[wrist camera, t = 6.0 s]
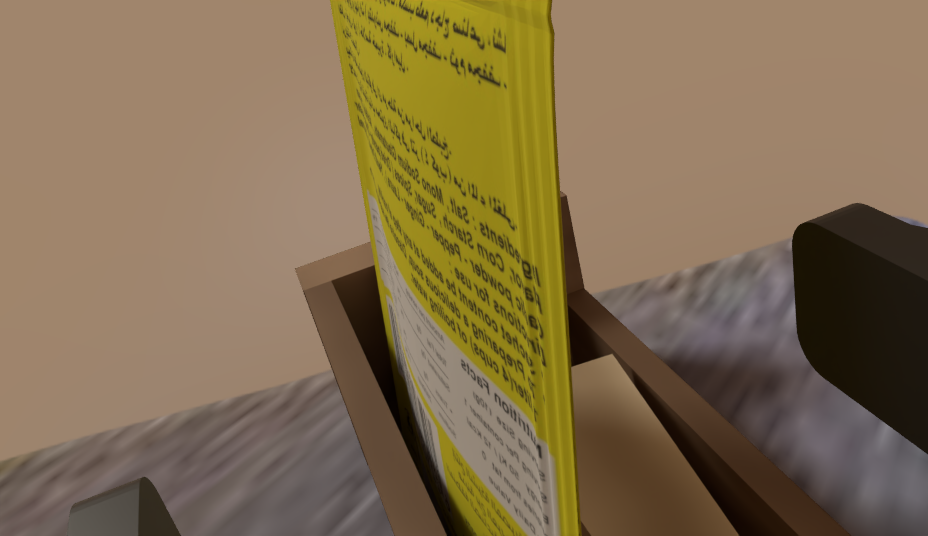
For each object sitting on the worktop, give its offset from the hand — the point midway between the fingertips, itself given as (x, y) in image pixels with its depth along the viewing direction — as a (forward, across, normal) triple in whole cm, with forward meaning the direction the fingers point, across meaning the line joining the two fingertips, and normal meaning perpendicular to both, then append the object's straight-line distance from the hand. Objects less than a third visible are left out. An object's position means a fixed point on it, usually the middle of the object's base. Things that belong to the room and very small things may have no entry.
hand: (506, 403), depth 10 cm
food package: (+9, +1, +15) cm, 17 cm away
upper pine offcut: (+10, -4, +13) cm, 17 cm away
